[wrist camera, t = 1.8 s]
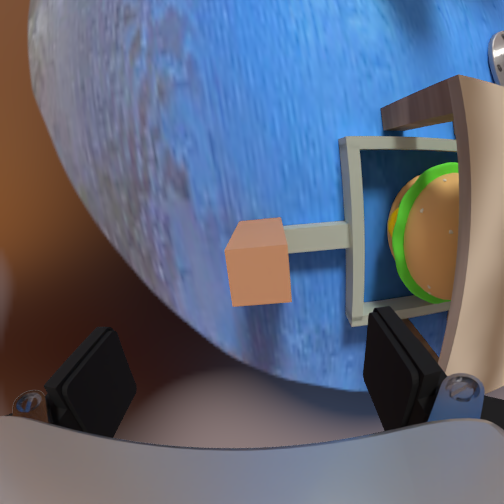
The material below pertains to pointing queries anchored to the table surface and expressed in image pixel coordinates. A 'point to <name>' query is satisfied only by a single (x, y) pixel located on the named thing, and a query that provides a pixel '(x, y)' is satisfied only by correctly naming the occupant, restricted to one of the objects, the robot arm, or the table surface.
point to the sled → (321, 241)
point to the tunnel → (469, 220)
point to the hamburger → (427, 232)
